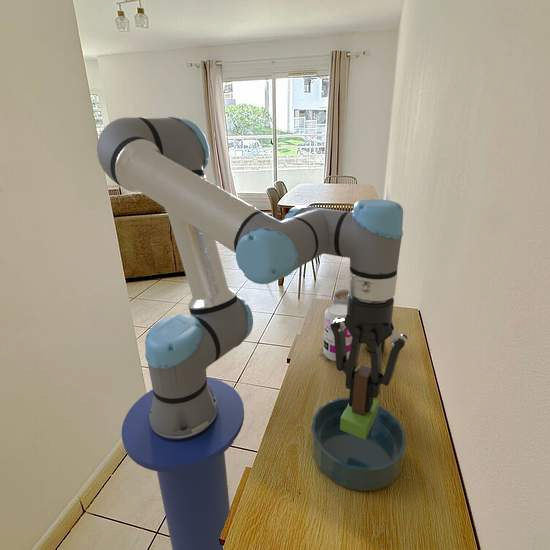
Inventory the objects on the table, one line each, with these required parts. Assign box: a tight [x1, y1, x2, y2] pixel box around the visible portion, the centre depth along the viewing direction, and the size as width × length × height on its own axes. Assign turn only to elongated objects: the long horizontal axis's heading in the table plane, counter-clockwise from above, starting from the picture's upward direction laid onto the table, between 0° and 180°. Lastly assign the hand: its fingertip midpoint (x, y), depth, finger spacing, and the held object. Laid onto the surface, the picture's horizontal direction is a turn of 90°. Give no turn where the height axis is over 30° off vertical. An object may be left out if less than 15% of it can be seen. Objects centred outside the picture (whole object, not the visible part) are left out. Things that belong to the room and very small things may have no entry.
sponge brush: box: [340, 364, 380, 440], centre depth 68 cm, size 8×5×12 cm, turn 149°
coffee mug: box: [332, 288, 349, 305], centre depth 119 cm, size 13×10×10 cm
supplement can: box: [322, 303, 352, 362], centre depth 102 cm, size 8×8×15 cm
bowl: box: [310, 397, 407, 492], centre depth 72 cm, size 18×18×6 cm
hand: (360, 404), depth 68 cm, fingers closed on sponge brush, 2 cm apart
